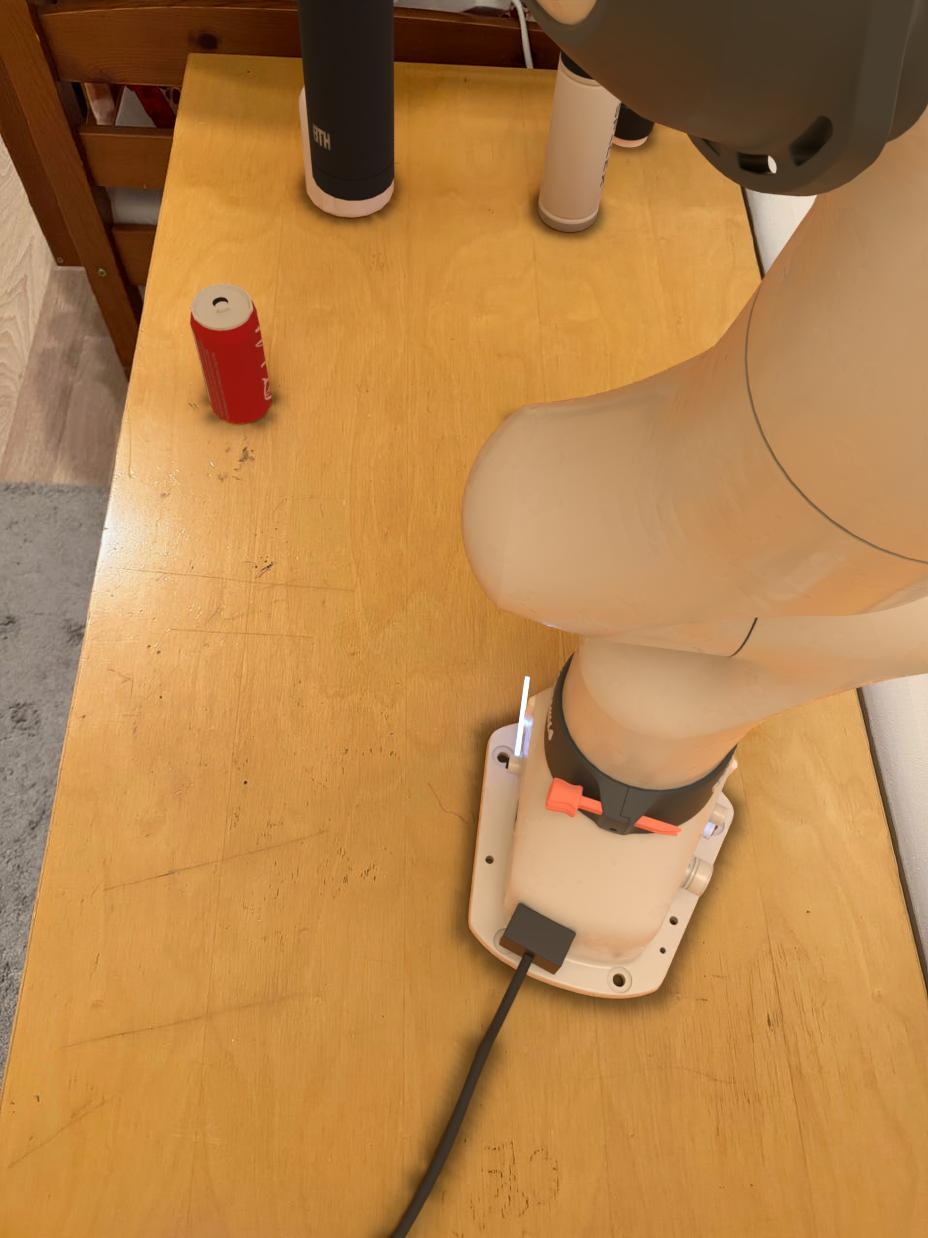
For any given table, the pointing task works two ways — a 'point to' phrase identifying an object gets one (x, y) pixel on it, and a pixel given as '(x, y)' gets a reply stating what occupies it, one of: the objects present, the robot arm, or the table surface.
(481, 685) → the table surface
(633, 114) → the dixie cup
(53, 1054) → the table surface
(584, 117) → the travel mug
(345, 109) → the black insulated water bottle
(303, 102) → the soap bottle
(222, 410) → the soda can
